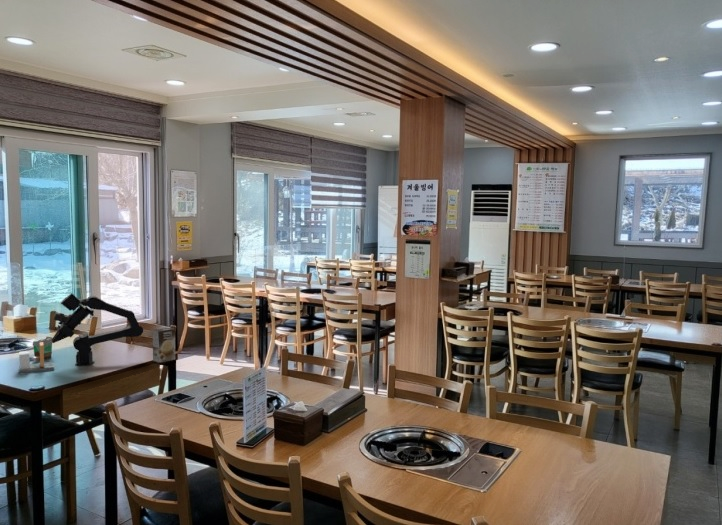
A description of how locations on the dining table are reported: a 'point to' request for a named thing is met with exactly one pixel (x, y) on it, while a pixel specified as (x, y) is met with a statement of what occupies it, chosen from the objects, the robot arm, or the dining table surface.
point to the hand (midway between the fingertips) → (52, 341)
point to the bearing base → (28, 368)
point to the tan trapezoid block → (41, 357)
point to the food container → (47, 348)
